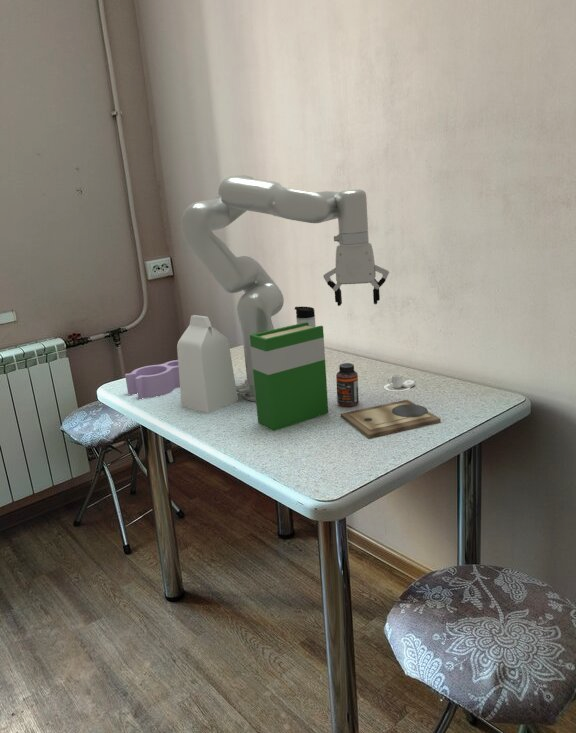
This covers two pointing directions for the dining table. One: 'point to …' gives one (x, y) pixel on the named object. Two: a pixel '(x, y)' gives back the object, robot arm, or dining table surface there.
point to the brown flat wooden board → (389, 418)
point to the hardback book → (289, 375)
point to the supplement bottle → (347, 385)
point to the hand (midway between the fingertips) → (357, 304)
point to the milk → (205, 367)
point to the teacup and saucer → (399, 383)
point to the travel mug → (305, 315)
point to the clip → (153, 380)
